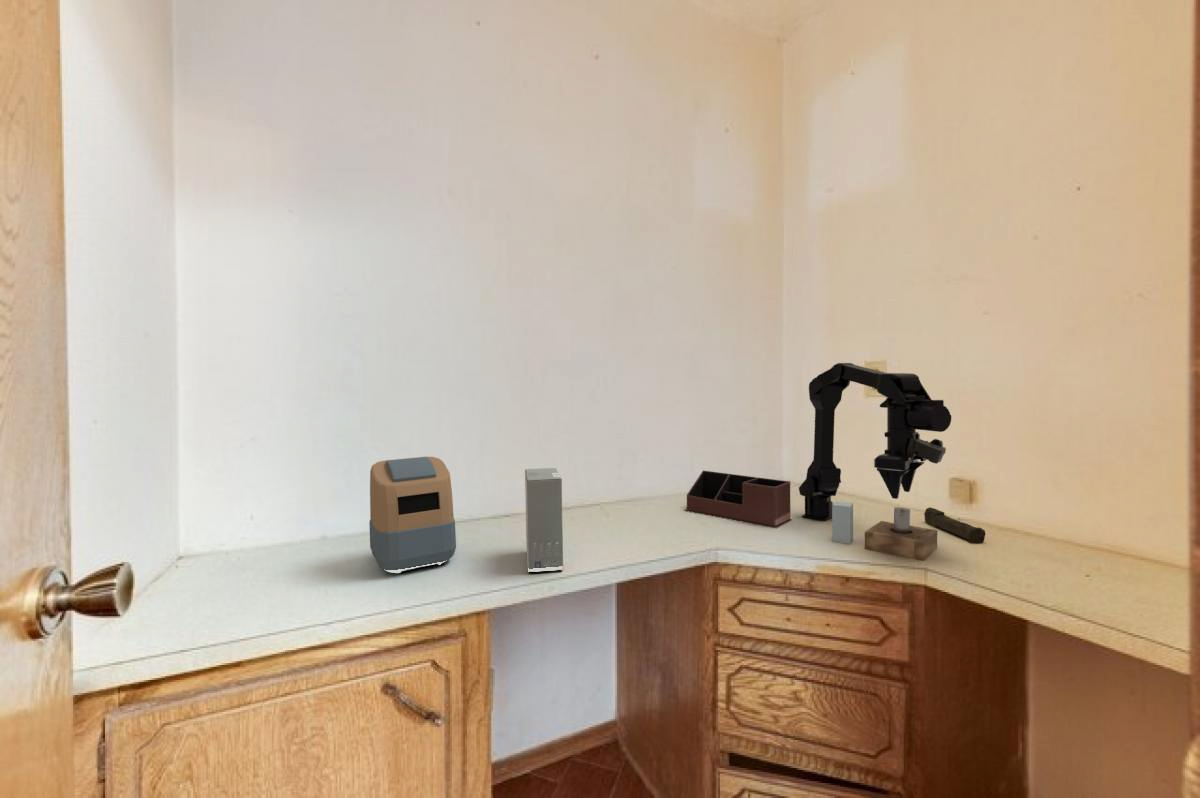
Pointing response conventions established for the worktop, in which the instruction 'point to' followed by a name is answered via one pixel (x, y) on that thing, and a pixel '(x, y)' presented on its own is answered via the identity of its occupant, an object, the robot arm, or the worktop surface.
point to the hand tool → (954, 525)
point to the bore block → (901, 540)
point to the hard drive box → (543, 518)
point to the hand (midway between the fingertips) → (901, 495)
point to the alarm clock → (411, 513)
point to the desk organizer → (741, 498)
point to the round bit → (901, 520)
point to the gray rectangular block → (842, 522)
